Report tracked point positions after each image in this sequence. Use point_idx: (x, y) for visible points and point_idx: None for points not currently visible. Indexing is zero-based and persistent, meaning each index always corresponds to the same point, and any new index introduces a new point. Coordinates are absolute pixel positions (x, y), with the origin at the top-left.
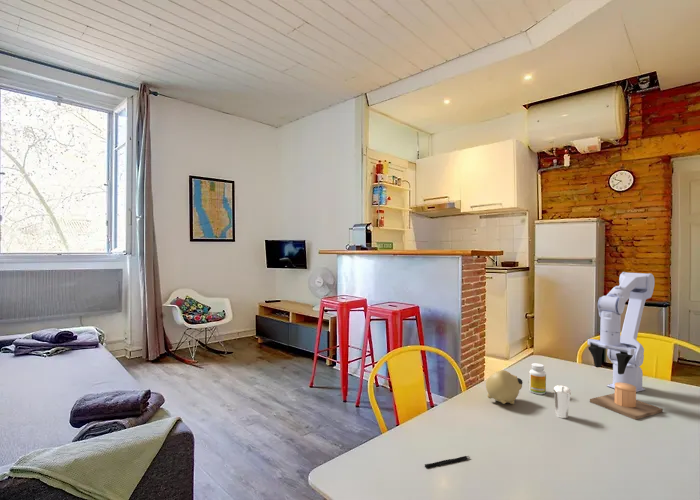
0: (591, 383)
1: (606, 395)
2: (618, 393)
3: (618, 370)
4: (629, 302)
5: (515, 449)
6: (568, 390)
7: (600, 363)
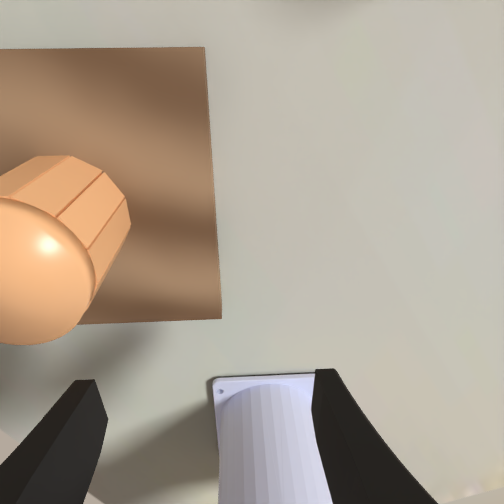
0: (387, 345)
1: (211, 235)
2: (20, 182)
3: (69, 409)
4: None
5: None
6: None
7: (319, 438)
